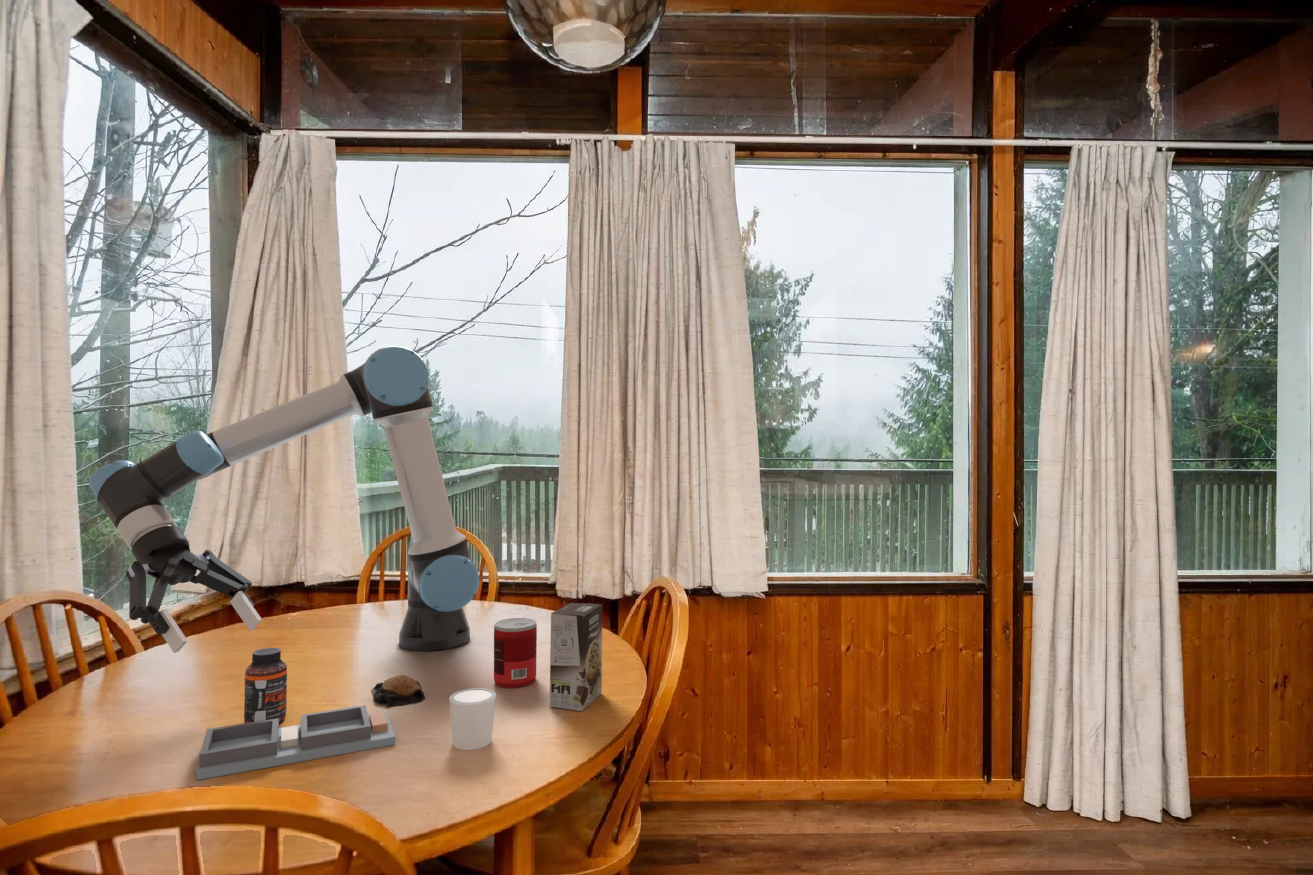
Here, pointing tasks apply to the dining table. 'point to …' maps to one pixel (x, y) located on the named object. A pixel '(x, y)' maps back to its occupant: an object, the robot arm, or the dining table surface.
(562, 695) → the grey food box
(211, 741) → the compartment tray
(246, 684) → the supplement bottle
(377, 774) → the dining table surface
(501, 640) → the canned food
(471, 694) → the white short cylinder
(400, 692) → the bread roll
